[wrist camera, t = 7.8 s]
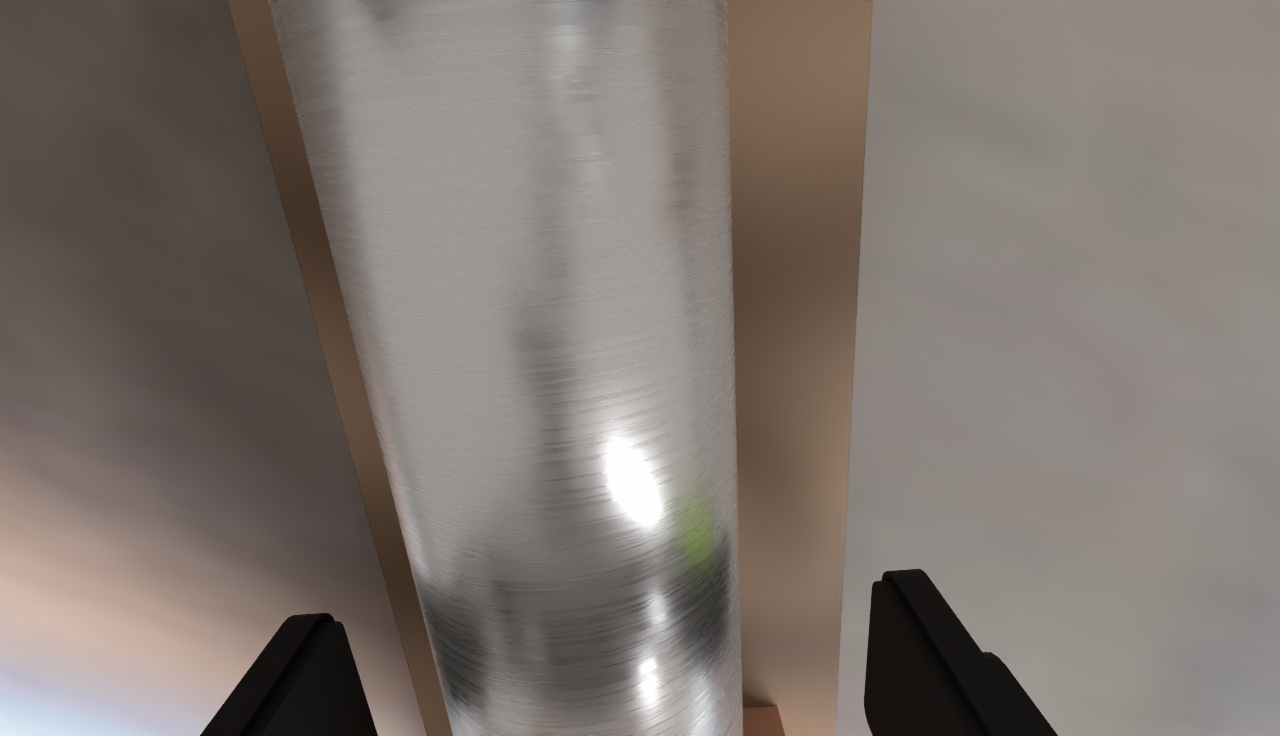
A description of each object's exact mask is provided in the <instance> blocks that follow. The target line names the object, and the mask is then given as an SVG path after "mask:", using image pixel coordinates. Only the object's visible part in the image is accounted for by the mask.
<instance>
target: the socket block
mask: <svg viewBox="0 0 1280 736" xmlns="http://www.w3.org/2000/svg"><path fill="white" fill-rule="evenodd" d="M743 736H785V733H784V729H783V725H782V721H781V718H780V714H779V710H778V707H777V706H769V707H756V708H743Z"/></svg>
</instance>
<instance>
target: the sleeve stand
mask: <svg viewBox="0 0 1280 736" xmlns="http://www.w3.org/2000/svg"><path fill="white" fill-rule="evenodd" d="M227 1H228V4H229V8H230V12H231V15H232V19H233V23H234V26H235V30H236V34H237V37H238V41H239V45H240V48H241V52H242V56H243V59H244V63H245V67H246V70H247V74H248V78H249V82H250V85H251V89H252V93H253V96H254V100H255V104H256V107H257V111H258V115H259V118H260V122H261V126H262V129H263V133H264V137H265V140H266V144H267V148H268V151H269V155H270V159H271V163H272V166H273V170H274V174H275V177H276V181H277V185H278V188H279V192H280V196H281V199H282V203H283V207H284V210H285V214H286V218H287V221H288V225H289V229H290V232H291V236H292V240H293V243H294V247H295V251H296V255H297V258H298V262H299V266H300V269H301V273H302V277H303V280H304V284H305V288H306V291H307V295H308V299H309V302H310V306H311V310H312V313H313V317H314V321H315V324H316V328H317V332H318V335H319V339H320V343H321V347H322V350H323V354H324V358H325V361H326V365H327V369H328V372H329V376H330V380H331V383H332V387H333V391H334V394H335V398H336V402H337V405H338V409H339V413H340V416H341V420H342V424H343V427H344V431H345V435H346V439H347V442H348V446H349V450H350V453H351V457H352V461H353V464H354V468H355V472H356V475H357V479H358V483H359V486H360V490H361V494H362V497H363V501H364V505H365V508H366V512H367V516H368V520H369V523H370V527H371V531H372V534H373V538H374V542H375V545H376V549H377V553H378V556H379V560H380V564H381V567H382V571H383V575H384V578H385V582H386V586H387V589H388V593H389V597H390V600H391V604H392V608H393V612H394V615H395V619H396V623H397V626H398V630H399V634H400V637H401V641H402V645H403V648H404V652H405V656H406V659H407V663H408V667H409V670H410V674H411V678H412V681H413V685H414V689H415V692H416V696H417V700H418V704H419V707H420V711H421V715H422V718H423V722H424V726H425V729H426V733H427V736H453V734H452V730H451V726H450V722H449V718H448V714H447V710H446V706H445V702H444V698H443V694H442V690H441V686H440V682H439V678H438V674H437V670H436V666H435V662H434V658H433V654H432V650H431V646H430V642H429V638H428V634H427V630H426V626H425V622H424V618H423V614H422V610H421V607H420V603H419V599H418V595H417V591H416V587H415V583H414V579H413V575H412V571H411V567H410V563H409V559H408V555H407V551H406V547H405V543H404V539H403V535H402V531H401V527H400V523H399V519H398V515H397V511H396V507H395V503H394V499H393V495H392V491H391V487H390V483H389V479H388V475H387V471H386V467H385V463H384V459H383V455H382V451H381V447H380V443H379V439H378V435H377V431H376V427H375V424H374V420H373V416H372V412H371V408H370V404H369V400H368V396H367V392H366V388H365V384H364V380H363V376H362V372H361V368H360V364H359V360H358V356H357V352H356V348H355V344H354V340H353V336H352V332H351V328H350V324H349V320H348V316H347V312H346V308H345V304H344V300H343V296H342V292H341V288H340V284H339V280H338V276H337V272H336V268H335V264H334V260H333V256H332V252H331V248H330V244H329V241H328V237H327V233H326V229H325V225H324V221H323V217H322V213H321V209H320V205H319V201H318V197H317V193H316V189H315V185H314V181H313V177H312V173H311V169H310V165H309V161H308V157H307V153H306V149H305V145H304V141H303V137H302V133H301V129H300V125H299V121H298V117H297V113H296V109H295V105H294V101H293V97H292V93H291V89H290V85H289V81H288V77H287V73H286V69H285V65H284V62H283V58H282V54H281V50H280V46H279V42H278V38H277V34H276V30H275V26H274V22H273V18H272V14H271V10H270V6H269V2H268V0H227ZM871 18H872V0H727V29H728V74H729V119H730V165H731V210H732V255H733V300H734V345H735V391H736V436H737V481H738V526H739V571H740V616H741V662H742V707H743V708H756V707H769V706H777V707H778V710H779V714H780V718H781V721H782V725H783V729H784V733H785V736H835V730H836V710H837V690H838V670H839V651H840V631H841V611H842V591H843V572H844V552H845V532H846V512H847V492H848V473H849V453H850V433H851V413H852V394H853V374H854V354H855V334H856V315H857V295H858V275H859V255H860V236H861V216H862V196H863V176H864V156H865V137H866V117H867V97H868V77H869V58H870V38H871Z"/></svg>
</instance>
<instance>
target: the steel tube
mask: <svg viewBox="0 0 1280 736" xmlns="http://www.w3.org/2000/svg"><path fill="white" fill-rule="evenodd" d="M268 2H269V6H270V10H271V14H272V18H273V22H274V26H275V30H276V34H277V38H278V42H279V46H280V50H281V54H282V58H283V62H284V65H285V69H286V73H287V77H288V81H289V85H290V89H291V93H292V97H293V101H294V105H295V109H296V113H297V117H298V121H299V125H300V129H301V133H302V137H303V141H304V145H305V149H306V153H307V157H308V161H309V165H310V169H311V173H312V177H313V181H314V185H315V189H316V193H317V197H318V201H319V205H320V209H321V213H322V217H323V221H324V225H325V229H326V233H327V237H328V241H329V244H330V248H331V252H332V256H333V260H334V264H335V268H336V272H337V276H338V280H339V284H340V288H341V292H342V296H343V300H344V304H345V308H346V312H347V316H348V320H349V324H350V328H351V332H352V336H353V340H354V344H355V348H356V352H357V356H358V360H359V364H360V368H361V372H362V376H363V380H364V384H365V388H366V392H367V396H368V400H369V404H370V408H371V412H372V416H373V420H374V424H375V427H376V431H377V435H378V439H379V443H380V447H381V451H382V455H383V459H384V463H385V467H386V471H387V475H388V479H389V483H390V487H391V491H392V495H393V499H394V503H395V507H396V511H397V515H398V519H399V523H400V527H401V531H402V535H403V539H404V543H405V547H406V551H407V555H408V559H409V563H410V567H411V571H412V575H413V579H414V583H415V587H416V591H417V595H418V599H419V603H420V607H421V610H422V614H423V618H424V622H425V626H426V630H427V634H428V638H429V642H430V646H431V650H432V654H433V658H434V662H435V666H436V670H437V674H438V678H439V682H440V686H441V690H442V694H443V698H444V702H445V706H446V710H447V714H448V718H449V722H450V726H451V730H452V734H453V736H743V707H742V662H741V616H740V571H739V526H738V481H737V436H736V391H735V345H734V300H733V255H732V210H731V165H730V119H729V74H728V29H727V0H268Z"/></svg>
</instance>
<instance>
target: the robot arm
mask: <svg viewBox="0 0 1280 736" xmlns="http://www.w3.org/2000/svg"><path fill="white" fill-rule="evenodd" d="M864 708H865V714H866V718H867V722H868V725H869V728H870V730H871V732H872V735H873V736H1058V735H1057V734H1056V732H1055V731H1054V730H1053V728H1052V727H1051V726H1050V724H1049V723H1048V722H1047V720H1046V719H1045V718H1044V716H1043V715H1042V714H1041V712H1040V711H1039V709H1038V708H1037V707H1036V705H1035V704H1034V703H1033V701H1032V700H1031V699H1030V697H1029V696H1028V695H1027V693H1026V692H1025V691H1024V689H1023V688H1022V687H1021V685H1020V684H1019V683H1018V681H1017V680H1016V678H1015V677H1014V676H1013V674H1012V673H1011V672H1010V670H1009V669H1008V668H1007V666H1006V665H1005V664H1004V663H1003V662H1002V661H1001V660H1000V659H999V657H997V656H996V655H994V654H992V653H991V652H982V651H981V650H980V648H979V647H978V646H977V644H976V643H975V641H974V640H973V639H972V637H971V636H970V634H969V633H968V632H967V630H966V629H965V627H964V626H963V625H962V623H961V622H960V620H959V619H958V618H957V616H956V615H955V613H954V612H953V611H952V609H951V608H950V606H949V605H948V604H947V602H946V601H945V599H944V598H943V597H942V595H941V594H940V592H939V591H938V590H937V588H936V587H935V585H934V584H933V583H932V581H931V580H930V578H929V577H928V576H927V574H926V573H925V572H924V571H923V570H921V569H911V570H898V571H887V572H884V574H883V576H882V581H876V582H874V583H873V586H872V596H871V610H870V624H869V638H868V652H867V666H866V680H865V694H864ZM200 736H378V735H377V732H376V729H375V725H374V722H373V719H372V716H371V712H370V709H369V706H368V703H367V700H366V696H365V693H364V690H363V687H362V683H361V680H360V677H359V674H358V671H357V667H356V664H355V661H354V658H353V655H352V651H351V648H350V645H349V642H348V638H347V635H346V632H345V629H344V626H343V624H342V623H341V622H338V621H336V622H335V621H334V618H333V616H331V615H330V614H329V613H318V614H305V615H293V616H291V617H289V618H288V619H287V620H286V621H285V622H284V623H283V624H282V626H281V627H280V628H279V630H278V631H277V632H276V634H275V635H274V636H273V638H272V639H271V640H270V642H269V643H268V644H267V646H266V647H265V648H264V650H263V651H262V653H261V654H260V655H259V657H258V658H257V659H256V661H255V662H254V663H253V665H252V666H251V667H250V669H249V670H248V671H247V673H246V674H245V675H244V677H243V678H242V680H241V681H240V682H239V684H238V685H237V686H236V688H235V689H234V690H233V692H232V693H231V694H230V696H229V697H228V698H227V700H226V701H225V702H224V704H223V705H222V707H221V708H220V709H219V711H218V712H217V713H216V715H215V716H214V717H213V719H212V720H211V721H210V723H209V724H208V725H207V727H206V728H205V730H204V731H203V732H202V734H201V735H200Z"/></svg>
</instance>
